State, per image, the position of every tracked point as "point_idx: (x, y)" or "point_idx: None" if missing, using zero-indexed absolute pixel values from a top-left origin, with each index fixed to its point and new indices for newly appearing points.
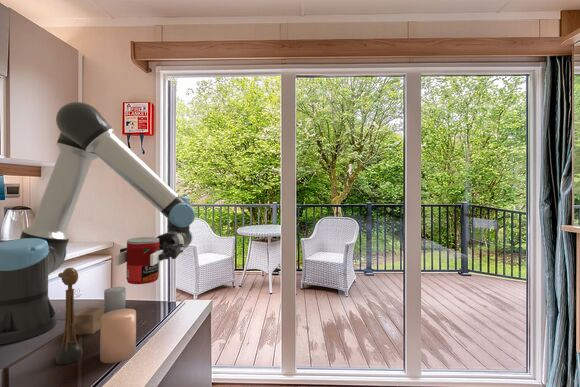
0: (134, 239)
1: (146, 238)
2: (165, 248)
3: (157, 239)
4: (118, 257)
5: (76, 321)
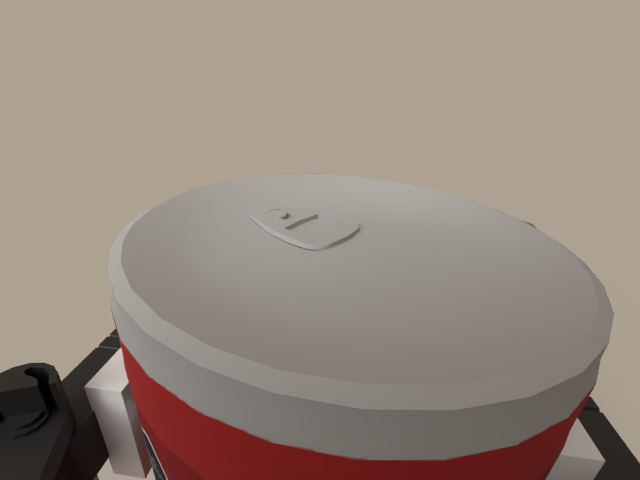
0: (530, 282)
1: (374, 347)
2: (49, 372)
3: (156, 206)
4: None
5: None
